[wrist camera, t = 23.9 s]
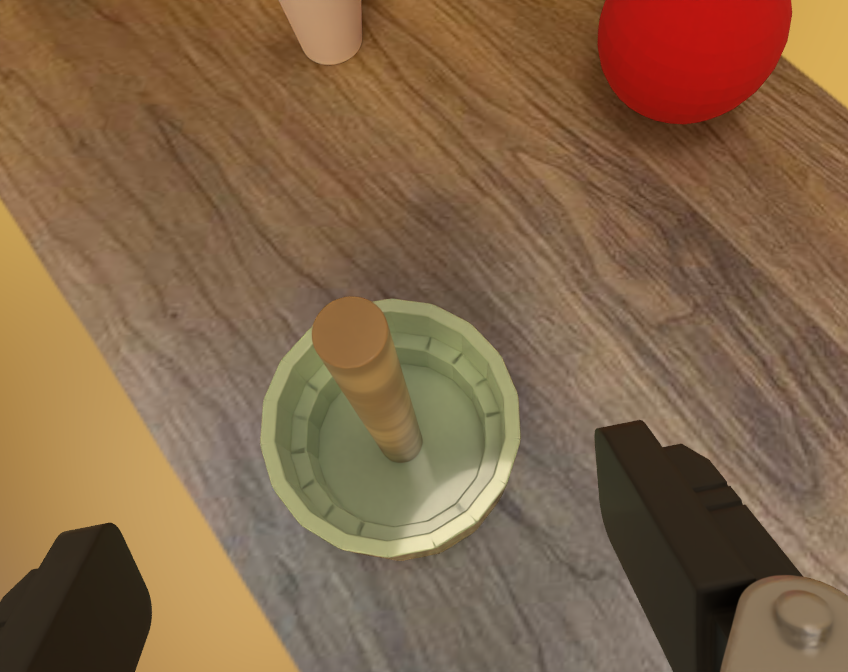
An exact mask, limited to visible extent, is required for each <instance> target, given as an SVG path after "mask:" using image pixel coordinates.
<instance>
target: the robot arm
mask: <svg viewBox="0 0 848 672" xmlns="http://www.w3.org/2000/svg"><path fill="white" fill-rule="evenodd" d="M595 451H596V463H597V476H598V488H599V500H600V508H601V513H602V518H603V522H604V525H605V529H606V532H607V535H608V537H609V540H610V542H611V544H612V546H613V548H614V550H615V552H616V554H617V557H618V559H619V561H620V563H621V565H622V567H623V569H624V571H625V573H626V575H627V577H628V579H629V581H630V583H631V585H632V587H633V590H634V592H635V594H636V596H637V598H638V600H639V602H640V604H641V606H642V608H643V610H644V612H645V614H646V616H647V618H648V621H649V623H650V625H651V627H652V629H653V631H654V633H655V635H656V637H657V639H658V641H659V643H660V645H661V647H662V649H663V651H664V654H665V656H666V658H667V660H668V662H669V664H670V666H671V668H672V670H673V672H848V596H847V595H846V594H844V593H843V592H841V591H840V590H838V589H836V588H834V587H832V586H830V585H828V584H826V583H823V582H821V581H818V580H814V579H811V578H807V577H803V576H802V574H801V573H800V572H799V571H798V570H797V568H796V567H795V566H794V565H793V563H792V562H791V561H790V560H789V558H788V557H787V556H786V555H785V553H784V552H783V551H782V550H781V548H780V547H779V546H778V545H777V543H776V542H775V541H774V540H773V538H772V537H771V536H770V535H769V534H768V532H767V531H766V530H765V529H764V527H763V526H762V525H761V524H760V522H759V521H758V520H757V519H756V517H755V516H754V515H753V514H752V512H751V511H750V510H749V509H748V507H747V506H746V505H743V504H742V501H741V499H740V497H739V496H738V495H737V494H736V493H735V491H734V490H733V489H732V488H731V486H728V485H727V481H726V480H725V479H724V478H723V476H722V475H721V474H720V473H719V471H718V470H717V469H716V468H715V466H714V465H713V464H712V463H711V461H710V460H709V459H707V458H705V457H703V456H702V455H700V454H698V453H697V452H695V451H693V450H691V449H690V448H688V447H686V446H685V445H683V444H677V445H672V446H667V447H662V446H661V445H660V443H659V442H658V440H657V439H656V438H655V436H654V435H653V433H652V432H651V431H650V429H649V428H648V427H647V425H646V424H645V423H644V422H643V421H642V420H637V421H632V422H627V423H622V424H617V425H612V426H607V427H602V428H597V429H596V430H595ZM151 619H152V606H151V599H150V595H149V592H148V589H147V587H146V585H145V582H144V581H143V578H142V576H141V574H140V572H139V570H138V567H137V565H136V563H135V561H134V559H133V557H132V555H131V552H130V550H129V548H128V546H127V544H126V542H125V540H124V537H123V535H122V533H121V532H120V530H119V528H118V527H117V526H116V525H115V524H113V523H105V524H100V525H95V526H91V527H85V528H80V529H75V530H70V531H65V532H62V533H61V534H60V535H59V536H58V537H57V538H56V540H55V542H54V543H53V545H52V547H51V548H50V550H49V552H48V553H47V555H46V557H45V558H44V560H43V562H42V563H41V565H40V567H39V568H38V569H33V570H31V571H30V572H29V573H28V574H27V575H26V576H25V577H24V578H23V579H22V580H21V581H20V582H19V583H17V584H16V585H15V586H14V587H13V588H12V589H11V590H10V591H9V592H8V593H7V594H6V595H5V596H4V597H3V599H2V600H1V602H0V672H135V670H136V667H137V664H138V661H139V658H140V656H141V653H142V650H143V647H144V644H145V642H146V639H147V636H148V633H149V630H150V626H151Z"/></svg>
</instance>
